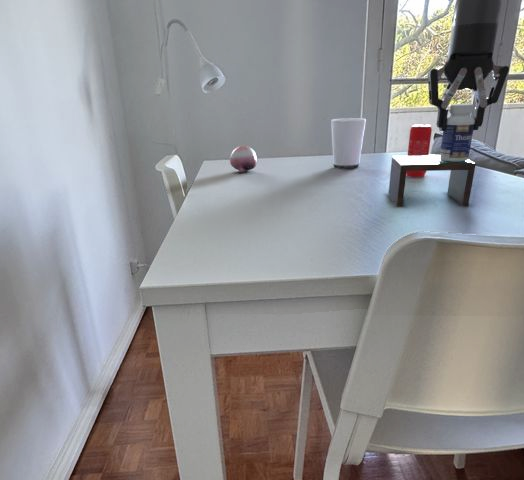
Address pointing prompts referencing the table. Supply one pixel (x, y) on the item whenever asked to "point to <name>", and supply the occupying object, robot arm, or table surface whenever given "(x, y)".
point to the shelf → (458, 177)
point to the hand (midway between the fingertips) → (458, 129)
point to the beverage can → (419, 145)
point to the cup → (347, 141)
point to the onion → (243, 158)
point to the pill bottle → (457, 134)
